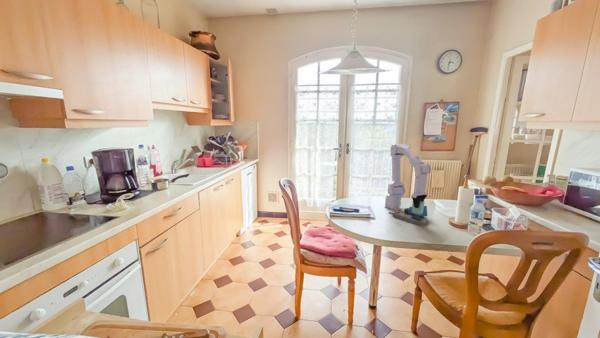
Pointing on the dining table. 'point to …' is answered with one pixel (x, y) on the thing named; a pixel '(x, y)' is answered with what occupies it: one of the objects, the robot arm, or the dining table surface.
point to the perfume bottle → (409, 211)
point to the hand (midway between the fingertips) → (417, 206)
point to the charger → (418, 210)
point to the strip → (410, 218)
